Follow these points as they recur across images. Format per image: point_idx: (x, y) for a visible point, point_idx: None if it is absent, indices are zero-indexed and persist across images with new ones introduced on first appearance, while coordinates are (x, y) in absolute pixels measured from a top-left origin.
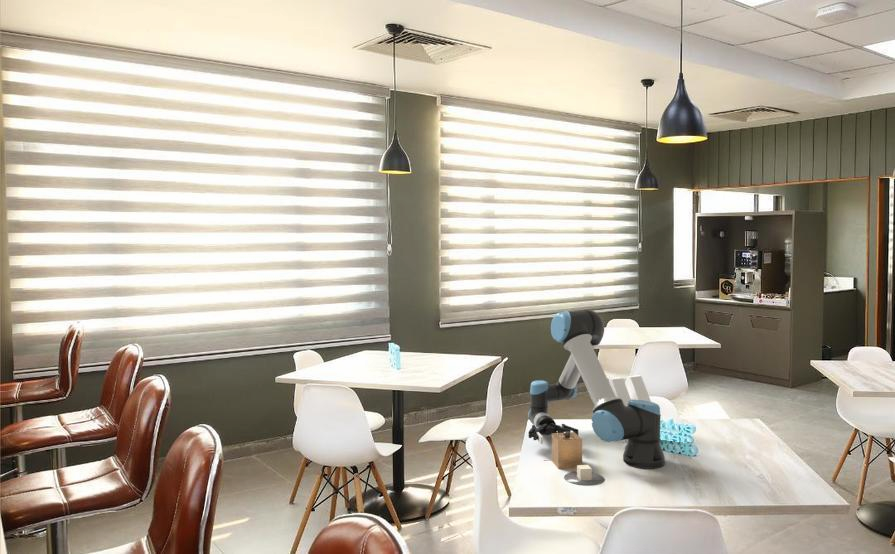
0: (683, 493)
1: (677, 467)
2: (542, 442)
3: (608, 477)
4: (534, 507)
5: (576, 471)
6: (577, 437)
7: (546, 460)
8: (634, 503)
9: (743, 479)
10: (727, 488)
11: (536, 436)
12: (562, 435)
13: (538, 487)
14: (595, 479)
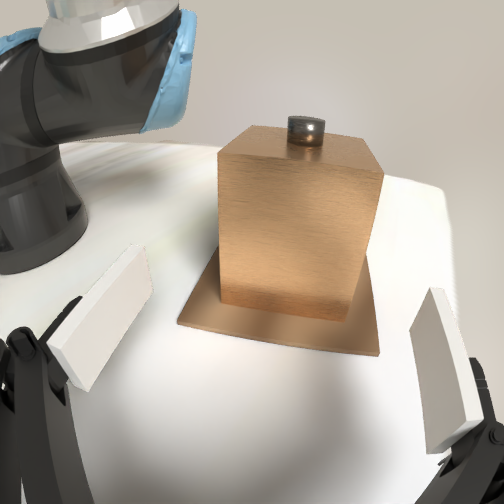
0: (147, 156)
1: None
2: (415, 322)
3: (209, 201)
4: (414, 180)
5: None
6: (257, 132)
7: (365, 346)
8: None
9: None
10: (81, 159)
11: (472, 360)
12: (323, 149)
13: (410, 212)
14: None
